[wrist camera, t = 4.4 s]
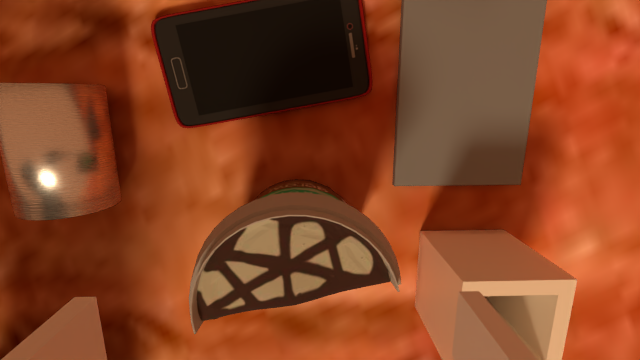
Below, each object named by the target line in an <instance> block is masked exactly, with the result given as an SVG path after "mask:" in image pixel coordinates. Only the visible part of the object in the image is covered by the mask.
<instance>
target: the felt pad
mask: <svg viewBox="0 0 640 360" xmlns="http://www.w3.org/2000/svg"><path fill="white" fill-rule="evenodd" d="M546 3H547V0H402V7H401V27H400V47H399V66H398V86H397V106H396V126H395V146H394V166H393V185H394V186H439V185H521V179H522V172H523V165H524V158H525V151H526V144H527V137H528V130H529V123H530V116H531V109H532V102H533V95H534V88H535V81H536V73H537V66H538V59H539V52H540V45H541V38H542V31H543V24H544V17H545V10H546Z"/></svg>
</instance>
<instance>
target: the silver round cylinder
mask: <svg viewBox="0 0 640 360" xmlns="http://www.w3.org/2000/svg"><path fill="white" fill-rule="evenodd" d="M0 153H1V158H2V162H3V167H4V171H5V176H6V180H7V185H8V189H9V194H10V198H11V203H12V207H13V212H14V216H15V217H16V218H19V219H24V220H54V219H63V218H70V217H76V216H81V215H86V214H90V213H94V212H98V211H101V210H104V209H107V208H110V207H112V206H114V205H116V204H118V203H119V202H120V201H121V192H120V185H119V178H118V171H117V164H116V157H115V150H114V143H113V136H112V129H111V123H110V116H109V109H108V102H107V95H106V88H105V85H93V84H57V83H0Z"/></svg>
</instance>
